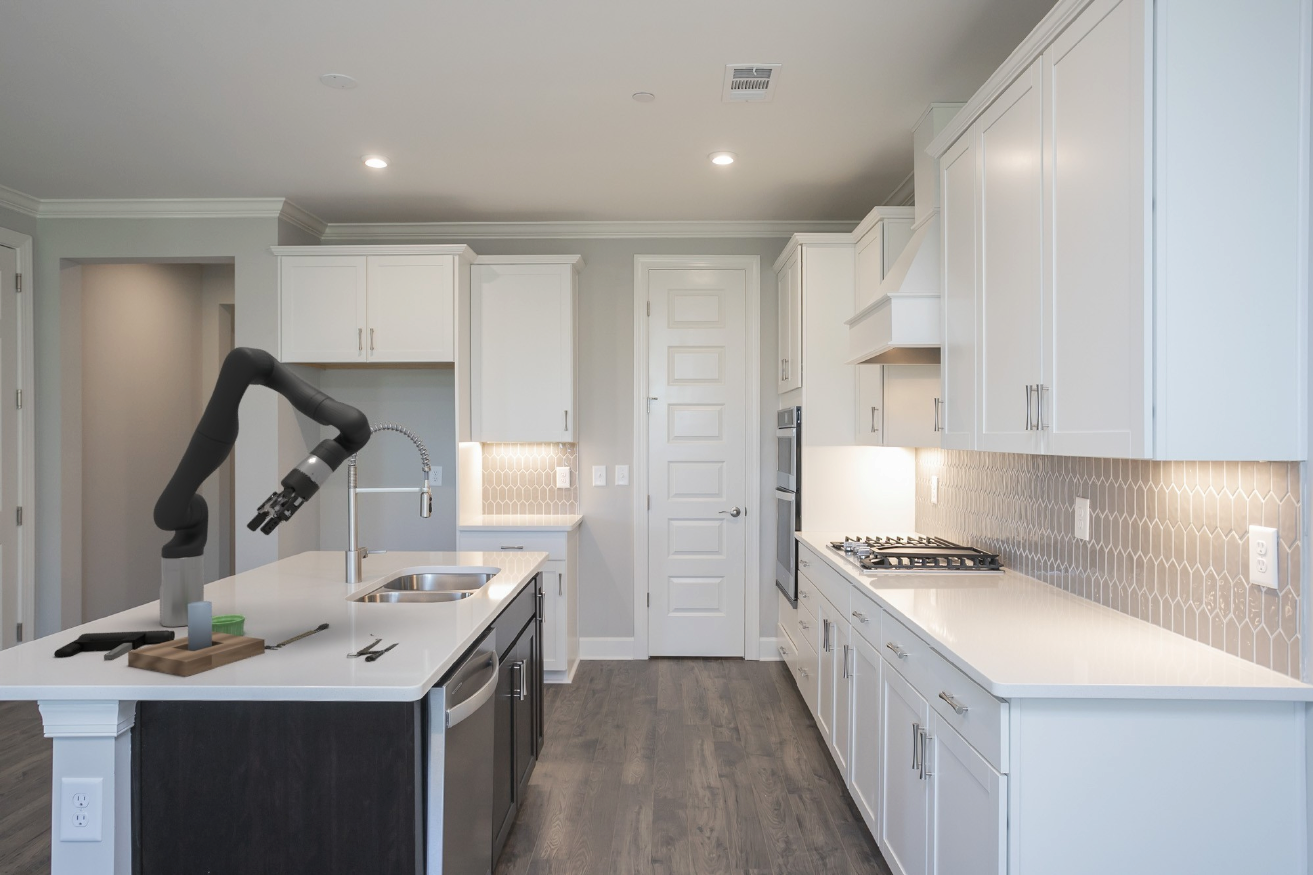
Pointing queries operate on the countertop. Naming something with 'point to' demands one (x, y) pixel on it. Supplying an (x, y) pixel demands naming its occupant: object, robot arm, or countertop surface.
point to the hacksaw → (376, 653)
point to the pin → (199, 625)
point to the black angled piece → (114, 642)
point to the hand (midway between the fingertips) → (256, 531)
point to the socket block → (195, 654)
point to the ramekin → (228, 624)
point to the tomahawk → (297, 637)
